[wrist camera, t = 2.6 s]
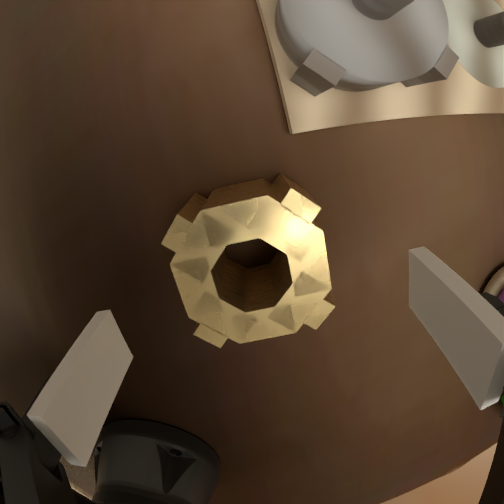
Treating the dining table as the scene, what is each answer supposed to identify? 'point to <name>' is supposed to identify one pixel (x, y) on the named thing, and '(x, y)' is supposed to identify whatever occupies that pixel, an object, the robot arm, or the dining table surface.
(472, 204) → the dining table surface
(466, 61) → the gear board
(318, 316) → the brass gear
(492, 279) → the stacking toy
